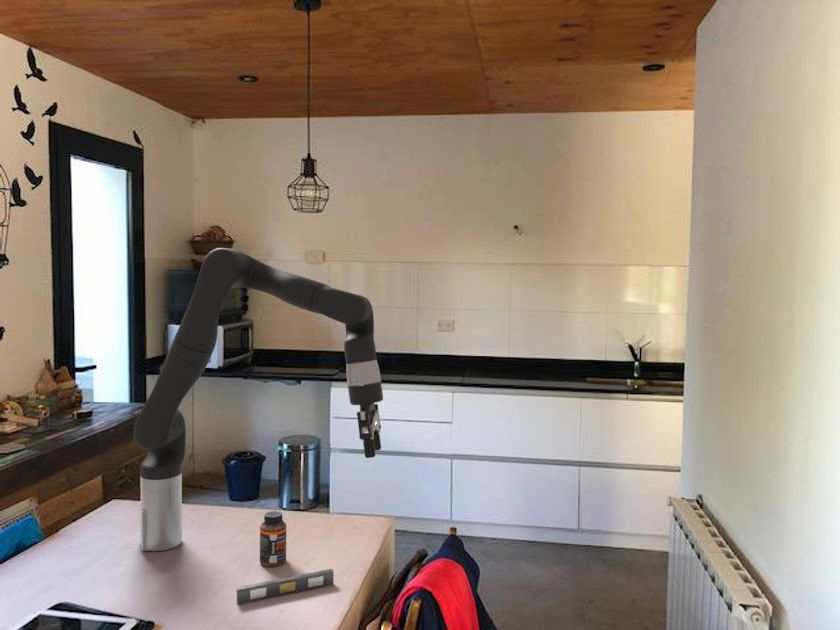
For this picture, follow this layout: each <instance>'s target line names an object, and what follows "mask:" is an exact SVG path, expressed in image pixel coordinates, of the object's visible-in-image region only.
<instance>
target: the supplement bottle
mask: <svg viewBox="0 0 840 630" xmlns="http://www.w3.org/2000/svg"><path fill="white" fill-rule="evenodd" d="M263 516H264V519H263V522H261V524H260V526H259V563H260V564H261V565H262V566H264V567H270V568H271V567H272V568H275V567H279V566H282V565H283V564H284V563H285V562H286V561H287V523H286V522H285V521H284V519H283V512H281V511H278V510H274V511H273V510H272V511H266V512H265V513H264V515H263Z"/></svg>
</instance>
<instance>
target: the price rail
mask: <svg viewBox="0 0 840 630" xmlns="http://www.w3.org/2000/svg"><path fill="white" fill-rule="evenodd" d="M334 578H335V576H334V569H333V568H329V569H328V568H327V569H323V570H319V571H313V572H308V573H304V574H298V575H292V576H288V577H283V578H278V579H277V578H276V579H273V580H272V579H271V580H268V581H262V582H257V583H252V584H246V585H241V586H237V587H236V604H237V605H241V604H247V603H251V602H252V603H253V602H257V601H262V600H268V599H273V598H276V597H281V596H286V595H290V594H291V595H292V594H295V593H299V592H306V591H311V590H314V589H319V588H320V589H321V588H323V587H329V586H334Z"/></svg>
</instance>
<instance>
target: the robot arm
mask: <svg viewBox="0 0 840 630" xmlns="http://www.w3.org/2000/svg"><path fill="white" fill-rule="evenodd" d="M234 288H235V289H236V288H243V289H249V290H255V291H259V292H261V293H265V294H267V295H270V296H273V297H275V298H277V299H279V300H281V301H282V302H284V303H287V304H289V305H292V306H293V307H296V308H300V309H302V310H305V311H308V312H311V313H315V314H318V315H322V316H324V317H326V318H330V319H331V320H333V321H335V322H336V321H337V322H339V323H342V324H344V327H345V337H346V338H345V340H344V343H343V350H344V357H345V364H346V374H345V375H346V383H347V389H348V397H349V398H348V399H349V404H350V405H351V406H359V411H357V412H356V416H357V424H358V425H357V426H358V432H359V436H358V437H359V439H360V440H361V441H362V444H363V451H364V457H365V458H366V459H369V458H375V457H376V451H381V449H382V444H381V443H382V442H381V435H380V433H381V429H382V425H381V421H380V420H381V419H380V413H379V411H380V410H379V405H378V403H379V402H383V399H384V394H383V386H382V380H381V373H380V371H381V370H380V367H379V364H378V358H377V349H376V345H375V339H374V337H375V336H374V335H375V334H374V333H375V332H374V331H375V325H374V324H375V323H374V322H375V320H374V319H375V318H374V311H373V310H374V309H373V305H372V303H371V301H370V300H369V299H368V298H367V297H366V296H364V295H361V294H356V293H352V292H348V291H345V290H341V289H339V288H338V289H337V288H334V287H332V286H330V285H328V284H326V283H323V282H320V281H317V280H314V279H311V278H308V277H305V276H300V275H299V274H298V275H297V274H294V273H291V272H287V271H284V270H280V269H278V268H276V267H272V266H270V265H269V264H267V263H263V262H262V261H259V260H258V259H256V258H254V257H252V256H251V255H249V254H246V253H245V252H243V251H241V250H239V249H236V248H228V247H217V248H215V249H213V250H210V251H209V253H208V254H207V255H206V256H205V258H204V259H203V261H202V263H201V267H200V270H199V274H198V276H197V279H196V283H195V286H194V290H193V293H192V296H191V299H190V301H189V303H188V306H187V308H186V310H185V312H184V315H183V317H182V319H181V321H180V322H181V323H180V324H179V326H178V329H177V331H176V334H175V335H174V337H173V341H172V343H171V345H170V347H169V348H168V349H169V350H168V352H167V355H166V357H165V359H164V362H163V365H162V367H161V369H160V372H159V374H158V377H157V380H156V382H155V383H154V386H153V389H152V390H151V393H150V394H149V396H148V398H147V400H146V401H145V403H144V406H143V407H142V409H141V410H140V413H139V414H138V416H137V418H136V420H135V422H134V425H133V431H132V432H133V440H134V441H135V443H136V445H137V446H138V447H139V448H140V449H142V450H144V451H148V452H147V454H146V457H145V459H144V460H143V461H142V462H141V464H140V469H139V471H140V473H139V474H140V475H139V476H140V504H139V521H140V522H139V523H140V525H139V526H140V527H139V528H140V530H139V531H140V532H139V534H140V535H139V536H140V546H141V552H146V551H147V552H163V551H168V550H171V549H175V548H176V547H178V546H180V545H181V544H182V542H183V518H182V517H183V511H182V510H183V509H182V508H183V507H182V506H183V504H182V503H183V502H182V499H183V497H182V495H183V494H182V493H183V491H182V482H183V480H182V478H183V477H182V476H183V475H182V466H183V463H184V462H185V461H184V460H185V457H186V436H187V435H186V434H187V433H186V432H187V431H186V421H185V418H184V415H183V414H182V412H181V411H180V410H179V408H180V405H181V403H182V402H183V400H184V398H185V397H186V395H187V394H188V393H189V392H190V390H191V389H192V388H193V387H194V386H195V384H196V382H197V381H198V380H199V378H201V376H202V374H203V373H204V371H205V370H206V368H207V366H208V364H209V362H210V359H211V357H212V355H213V352H214V350H215V347H216V344H217V340H218V333H219V332H218V331H219V316H220V312H221V310H222V307H223V305H224V303H225V300H226V298H227V296H228V294H229V293H230V291H231V289H234Z"/></svg>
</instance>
